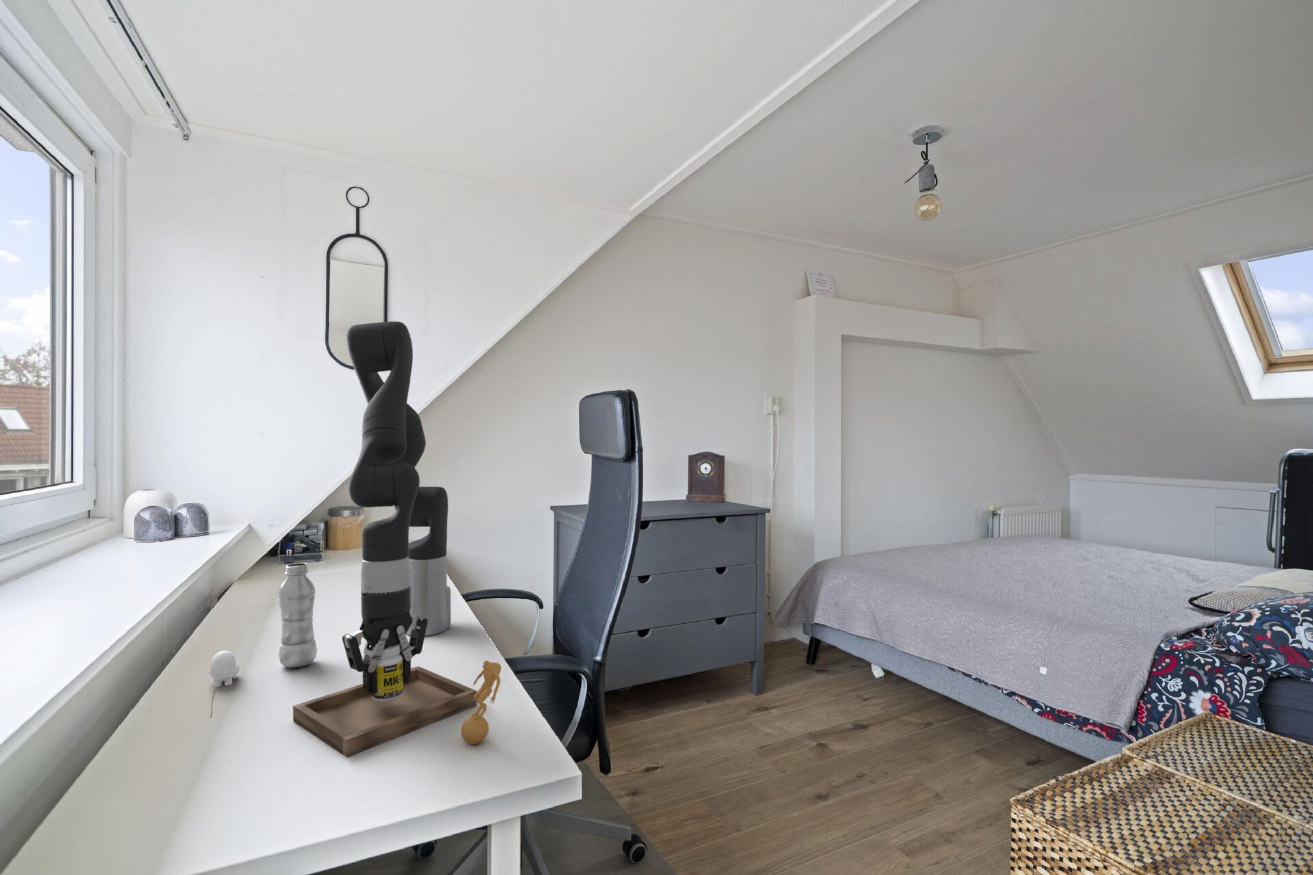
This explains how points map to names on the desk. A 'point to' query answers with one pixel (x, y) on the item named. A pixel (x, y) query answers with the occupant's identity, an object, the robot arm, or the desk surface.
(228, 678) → the toy creature
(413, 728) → the walnut tray
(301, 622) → the plastic bottle
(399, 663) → the supplement bottle
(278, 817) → the desk surface
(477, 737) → the figurine
